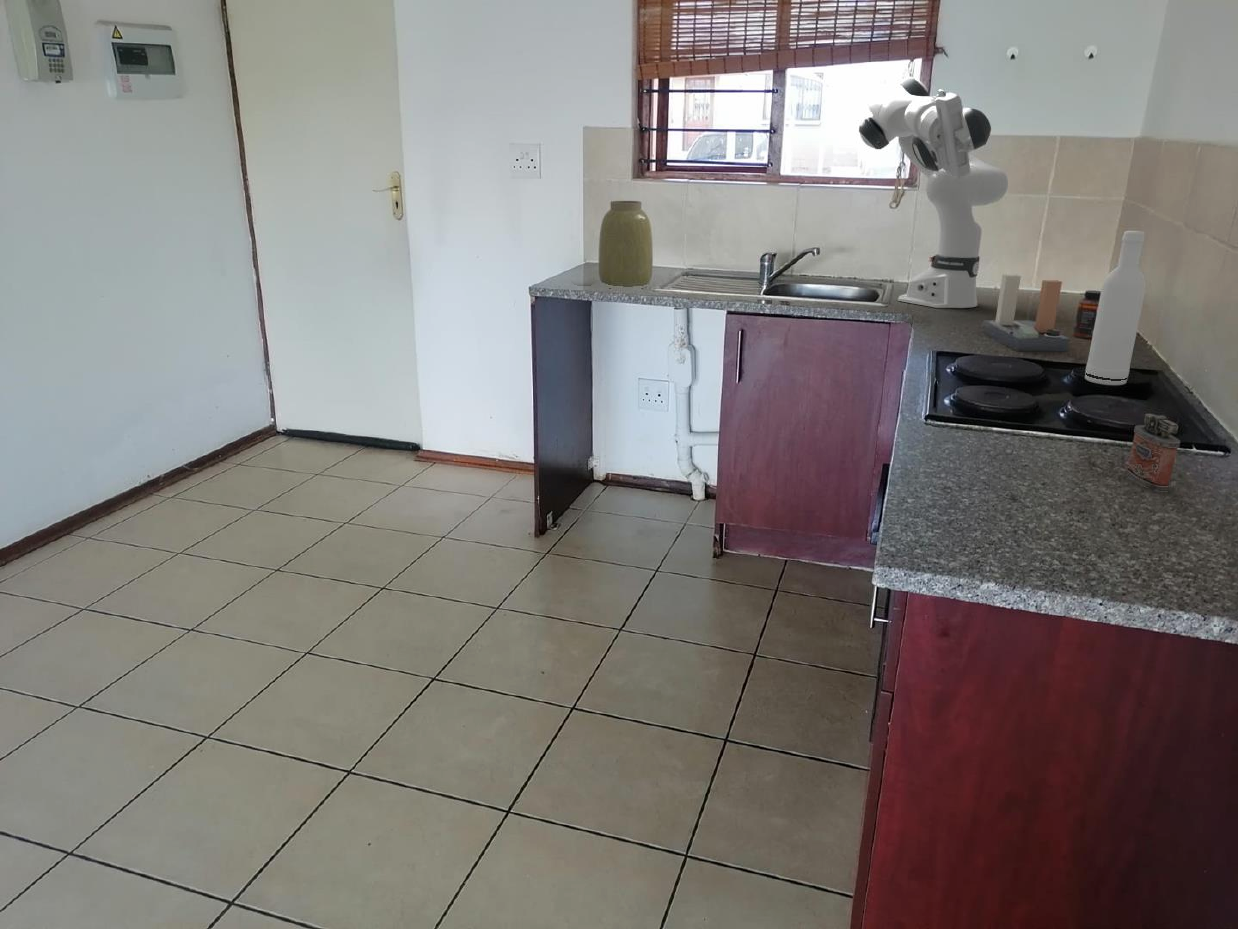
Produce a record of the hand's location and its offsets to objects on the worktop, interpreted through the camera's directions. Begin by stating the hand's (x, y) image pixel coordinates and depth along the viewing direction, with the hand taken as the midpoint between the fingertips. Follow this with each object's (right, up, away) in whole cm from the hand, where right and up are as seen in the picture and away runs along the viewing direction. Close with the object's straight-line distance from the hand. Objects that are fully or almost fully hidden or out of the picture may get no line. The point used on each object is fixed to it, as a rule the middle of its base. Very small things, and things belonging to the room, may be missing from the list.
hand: (968, 145), depth 213 cm
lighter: (-5, -78, -80) cm, 111 cm away
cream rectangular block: (+14, -40, +12) cm, 44 cm away
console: (+17, -45, +9) cm, 49 cm away
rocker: (+14, -45, 0) cm, 47 cm away
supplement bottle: (+35, -43, +14) cm, 57 cm away
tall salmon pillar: (+20, -43, +4) cm, 48 cm away
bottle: (+18, -58, -26) cm, 66 cm away
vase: (-80, -19, +78) cm, 114 cm away
